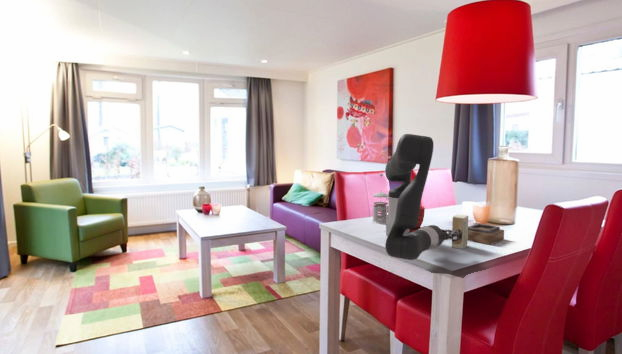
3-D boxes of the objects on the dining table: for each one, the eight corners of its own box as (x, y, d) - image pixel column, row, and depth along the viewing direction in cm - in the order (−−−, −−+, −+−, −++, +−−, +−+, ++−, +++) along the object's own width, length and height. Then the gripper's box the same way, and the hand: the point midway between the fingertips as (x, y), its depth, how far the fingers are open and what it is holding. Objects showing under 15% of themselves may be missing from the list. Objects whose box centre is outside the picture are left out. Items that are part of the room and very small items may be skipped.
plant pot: (425, 235, 166) (426, 208, 165) (394, 234, 169) (395, 207, 168) (422, 228, 179) (423, 203, 178) (394, 227, 182) (394, 203, 181)
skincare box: (456, 243, 152) (457, 214, 151) (467, 245, 150) (468, 215, 149) (451, 247, 147) (452, 216, 146) (462, 249, 145) (463, 217, 144)
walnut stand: (461, 239, 160) (462, 227, 159) (475, 234, 168) (476, 222, 168) (490, 244, 151) (490, 232, 150) (503, 239, 159) (504, 227, 159)
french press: (367, 220, 198) (367, 173, 196) (385, 218, 203) (386, 172, 200) (378, 224, 189) (378, 174, 187) (396, 222, 194) (397, 173, 192)
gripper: (448, 230, 123) (467, 223, 134) (409, 224, 132) (430, 217, 144) (447, 252, 123) (467, 243, 135) (408, 245, 133) (429, 237, 145)
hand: (448, 230), depth 139 cm, fingers open, 8 cm apart
